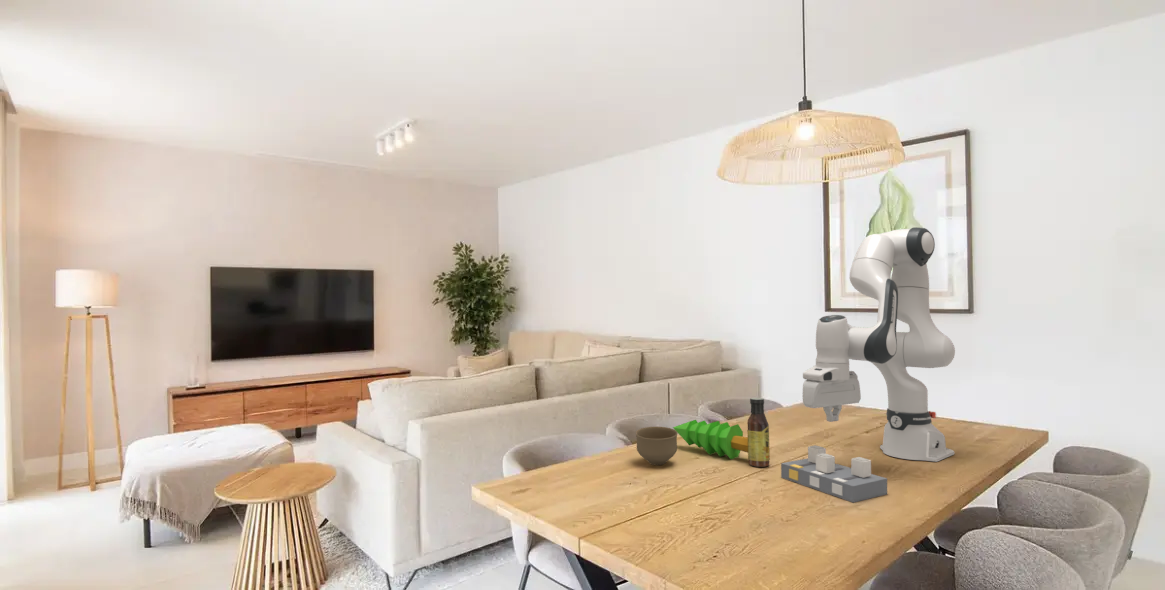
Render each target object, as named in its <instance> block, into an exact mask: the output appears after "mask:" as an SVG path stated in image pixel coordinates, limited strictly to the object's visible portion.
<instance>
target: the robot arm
mask: <svg viewBox="0 0 1165 590" xmlns="http://www.w3.org/2000/svg"><path fill="white" fill-rule="evenodd" d="M935 246H936V244H935V239H934V235H933V234H932V232H931V231H930V230H929V229H927V228H925V227H912V228H901V229H893V230H891V231H884V232H882V233H872V234H870V235H867V236H866V237H864V238H863V240H862V242H861V243H860V244H859V247H858V249H857V251H856V253H855V256H854V258H853V261H852V264H851V267H850V270H849V281H850V283H851V286H852V287H853V288H854V289H855V290H857V292H859V293H860V294H862V295H863V296H865V297H869V298H871V299H874V300H876V301H877V302H878V308H877V320H876V323H875V325H874V326H870V327H865V326H863V327H862V326H860V327H859V326H852V325H850V324H849V323H848V320H847V319H848V318H847V317H846V316H845V315H840V314H832V315H825V316H822V317H820V318H818V321H817V324H816V333H815V349H816V353H817V354H816V358H815V365H813V366H812V367H810V368H809V369H807V370H805V371H803V372H802V378H803V379H804V382H803V384H802V403H803V405H804V407H806V408H812V409H818V408H823V411H824V414H825V415H826V422H829V423H830V422H831V423H832V422H838V421H839V420H840V419H839V418H840V417H839V416H840V413H841V412H842V409H843V408H842V407H843V405H852V404H859V403H860V401H861V397H862V396H861V385H860V381H859V379H858V374H857V373H856V372H855V371H853V370H850V360H852V361H862V362H863V361H864V362H870V363H871V364H872V365H874V366H875V367H876V368H877V369H878V370H879V372H880V373H881V375H882V377H883V379H884V380H885V383H886V389H887V403H888V405H887V406H888V407H887V409H886V420H887V423H885V425H884V428H883V430H884V431H883V439H882V444H881V445H880V446H879V449H880V450H882V453H883V454H884V455H887V456H890V457H894V458H898V459H903V460H910V461H927V462H940V461H942V460H944V459H947V458H948V457H951V456H954V455H955V451H954V450H953V449H952V448H951V449H950V448H948V447H947V446H946V437H945V435H944V433H943V432H942V431H940V430H939V429H938V428H937V427H936V426H935V425H934V424H933V423H932V422H933V421H932V419H936V417H937V412H936V411H931V410H929V407H928V406H929V403H928V402H929V401H928V398H929V397H928V395H929V393H928V388H927V386H926V384H924V383H923V382H922V381H921V380H919V379H917V378H915V377H913V376H912V375H910V374H909V373H908V370H907V368H909V367H910V368H923V369H924V368H925V369H935V368H945V367H947V366H949V365H950V364H951V363H952V362H953V361H954V358H955V354H956V348H955V345H954V343H953V341H952V340H951V339H950V338H949V337H948V336H947V335H945V334H944V333H943V332H942V331H940V329H939V328H938V327H937V326H936V325H935V323H934V321H933V319H932V316H931V311H930V279H929V278H930V277H929V276H930V275H929V270H928V266H927V263H928V261H929V260H930V259H931V257H932V256H933V254H934V251H935V248H936V247H935ZM897 320H898V321H901V322H903V323H905V324H907V325H908V328H909V331H907V332H905V331H903V332H902V331H897V322H898V321H897Z"/></svg>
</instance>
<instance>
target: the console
mask: <svg viewBox="0 0 1165 590" xmlns="http://www.w3.org/2000/svg"><path fill="white" fill-rule="evenodd" d="M780 466H781V468H780V478H782V479H785V480H788V481H790V482H793V483H796V484H798V485H801V486H804V487H808V488H811V489H812V490H816V491H819V492H822V493H824V494H828V495H830V496H833V497H836V498H839V499H842V500H844V501H847V502H851V503H853V504H854V503H857V502H861V501H866V500H871V499H873V498H877V497H882V496H886V495H888V478H887V477H883V476H879V475H876V474H873V473H871V476H869V477H865V478H862V477H859V476H856V475H852V474H851V467H849V466H845V465H842V464H838V463H835V472H831V473H824V472H821V471H818V470H816V463H812V462H809V461H808V457H807V458H803V459H797V460H792V461H787V462H782V463H780Z"/></svg>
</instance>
